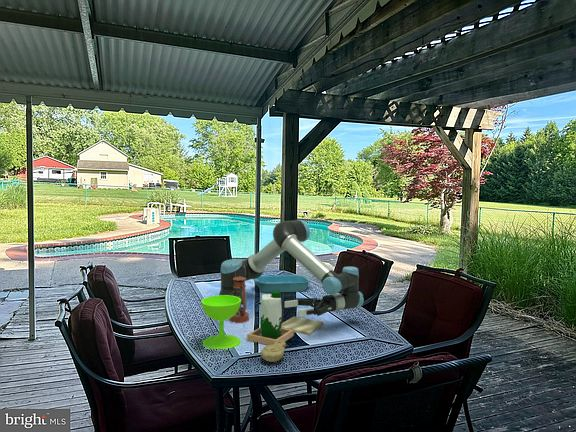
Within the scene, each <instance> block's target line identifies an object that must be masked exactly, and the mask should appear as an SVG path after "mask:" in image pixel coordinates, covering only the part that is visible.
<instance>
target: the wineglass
mask: <svg viewBox="0 0 576 432" xmlns="http://www.w3.org/2000/svg"><path fill="white" fill-rule="evenodd" d="M200 302H201V307H202V310H203V312H204V314H206V316H207V317H208V318H210V319H212V320H214V321H218V334H216V335H212V336H208V337H206V338H205V339H204V340H203V341H202V342H203V345H204V346H205V347H207V348H211V349H228V348H232V347H236V346H238V345H239V344H240V343H241V344H242V341H241V339H240V338H239V337H237V336H235V335H231V334H225V331H224V330H225V329H224V328H225V326H224V325H225V324H224V323H225V321H227V320H230V318H231V317H233V316H234V315H235V314H236V313H237V312H238V310H239V307H240V305H241V306H242V304H241V299H240V298H239V297H236V296H230V295H219V294H218V295H217V294H216V295H211V296H207V297H204V298H202V300H201V301H200Z"/></svg>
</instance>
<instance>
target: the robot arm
mask: <svg viewBox="0 0 576 432" xmlns="http://www.w3.org/2000/svg"><path fill="white" fill-rule="evenodd" d="M308 224H309V223H307V222H306V221H305V220H302V219H295V220H283V221H279V222H277V224H275V226H274V228H273V231H272V238H273V239H272V240H271V241H270V242H269V243H267V244H266V245H265V246H264V247H262V248H261V249H260V250H259V251H258V252H257V253H255V254H250V255H249V256H248V257H247V258H246V259H243V260H242V259H241V258H233V259H227V260H224V261H222V263H221V265H220V291H219V294H218V295H230V296H234V292H233V291H234V288H233V286H234V281H235V280H233V278H235V275H236V277H240V276H242V277H245V278H246V280H245V282H246V281H250V280H253V279H256V278H258V277H260V276H263V274H264V273H265V269H266V266H267V265H269V264H270V263H271V262H272V261H274V260H275V259H276V258H277V257H279V256H280V255H281V254H282V253H283V252H285V251H287V252H288V253H289V254H290V255H291V256H292V257H293V258H294V259H295V260H296V261H297V262H298V263H300V265H302V266H303V267H304V268H305V269H306V270H307V271H308V272H309V273H310V274H311V275H313V276H314V277H315V278H316V279H317V280H318V281H319V282H320V283H321V288H323V291H324V293H326V295H323V297H322V298H321V299H320V298H319V299H318V298H317V297H312V298H311V297H306V298H305V297H296V298H295V299H294V300H285V301H284V308H285V309H286V308H287V309H288V308H294V307H299V306H304V307H308V308H302V309H298V317H300V318H301V317H305V316H312V315H314V316H317V317H320V316H322V315H324V314H326V313H330V312H331V313H332V312H340V311H344V310H349V309H351V310H352V309H357V308H360V307H362V306H363V305H364V302H365V301H364V300H365V298H364V294H363V293H362V292H361V291H359V282H360V281H359V278H360V275H359V268H358V267H356V266H344V267H343V268H342V272H341V273H339V274H338V273H336V272H335V271H334V270H333V269H331V268H330V266H328V265H327V264H326V263H325V262H324V261H323V260H321V259H320V258H319V257H318V256H317V255H316V254H315V253H314V252H312V251H311V250H310V249H309V248H308V247H307V246H306V245H304V244H303V243H304V242H306V241H307V240H308V239H309V238H310V235H311V233H310V232H311V228H310V226H309V225H308ZM238 260H239V261H238ZM235 262H236V263H235ZM245 269H246V275H245ZM237 291H239V292H237V296H236V297H239V296H240V297H239V298H240V299H242V300H241V305H243V296H241V295H242V294H241V293H242V288H237ZM232 292H233V293H232ZM240 292H241V293H240ZM232 294H233V295H232Z"/></svg>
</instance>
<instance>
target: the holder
mask: <svg viewBox="0 0 576 432" xmlns="http://www.w3.org/2000/svg"><path fill="white" fill-rule="evenodd" d="M294 335H295V332H294V330H291V329H286V328H281V335H280V337H279V338H278V339H276V340H275V339H271V338H266V337H262V334H261V327H258V328H256V329H255V330H252V331H251V332H249V333H247V334H246V339H247V341H248V340H250V341H249V342H252V341H254V342H253V343H257V342H258V344H261V343H262V345H265V344H266V345H265V346H267V345H273V343H274V342H277V341H284V342H285V343H286V342H287V341H288V340H289V339H291V338H293V337H294Z"/></svg>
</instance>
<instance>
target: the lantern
mask: <svg viewBox="0 0 576 432" xmlns="http://www.w3.org/2000/svg"><path fill="white" fill-rule="evenodd" d="M238 261H239V260H238ZM235 263H236V262H235ZM245 275H246V269H245ZM233 280H235V281H234V286H233V288H234V291H233V292H234V296H237V292H239V291H237V288H242V293H241V292H240V293H241V294H242V295H241V296H243V304H241V305H240V307H239V310H238V312H237V313H236V314H235V315H234V316H233V317H231V318H230V319H229V322H230V321H232V322H231V323H233V322H235V323H234V324H243V323H248V322H249V321H250V317H249V316H250V314H249V312H247V306H248V305H247V304H248V303H247V298H246V295H247V294H248V292H246V288H247V286H246V281H245V280H246V278H245V277H242V276H240V277H236V275H235V278H233ZM233 292H232V293H233ZM232 295H233V294H232ZM239 297H240V296H239ZM241 300H242V299H241Z"/></svg>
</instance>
